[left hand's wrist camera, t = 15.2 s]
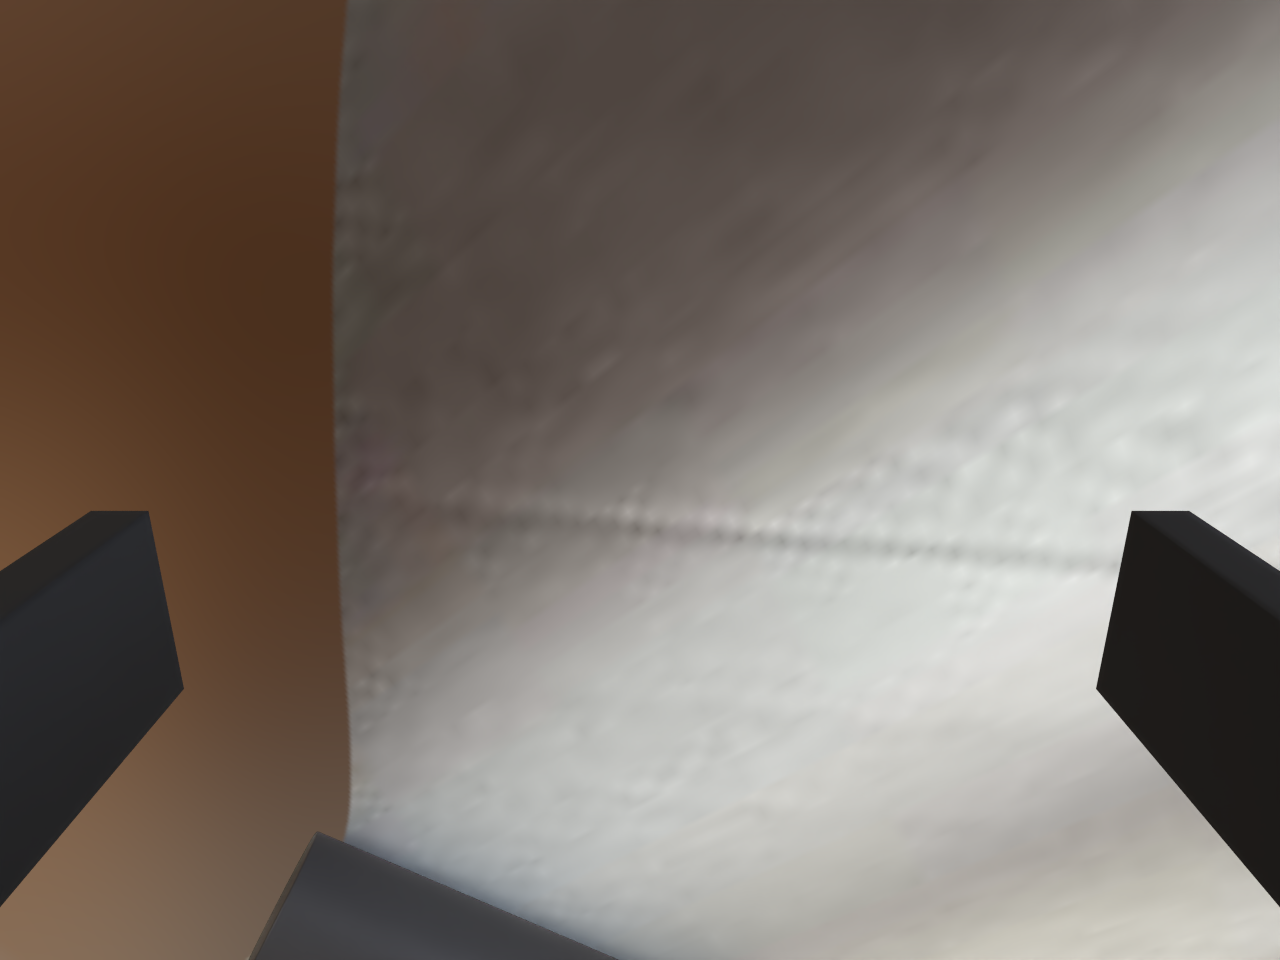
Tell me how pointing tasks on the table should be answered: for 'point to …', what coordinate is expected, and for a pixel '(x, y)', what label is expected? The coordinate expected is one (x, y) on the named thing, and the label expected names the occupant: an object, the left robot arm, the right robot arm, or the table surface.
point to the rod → (394, 916)
